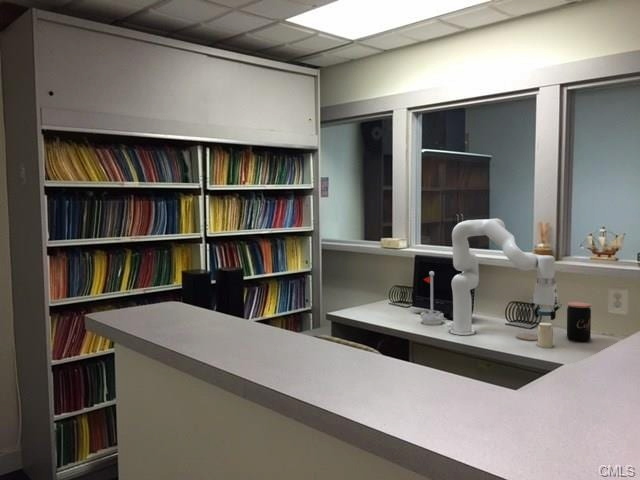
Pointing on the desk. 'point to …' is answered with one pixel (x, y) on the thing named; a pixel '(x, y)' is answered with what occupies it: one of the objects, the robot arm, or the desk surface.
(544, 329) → the jar
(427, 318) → the flag stand
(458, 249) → the robot arm
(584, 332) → the coffee jar
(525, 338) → the coaster
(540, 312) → the lid
